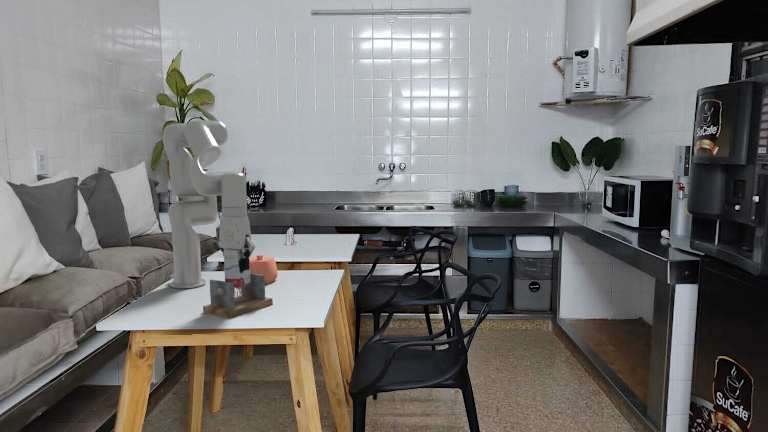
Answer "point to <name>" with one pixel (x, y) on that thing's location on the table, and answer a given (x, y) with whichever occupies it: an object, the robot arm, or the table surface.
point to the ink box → (235, 268)
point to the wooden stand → (235, 306)
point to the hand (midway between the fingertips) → (237, 268)
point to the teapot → (264, 267)
